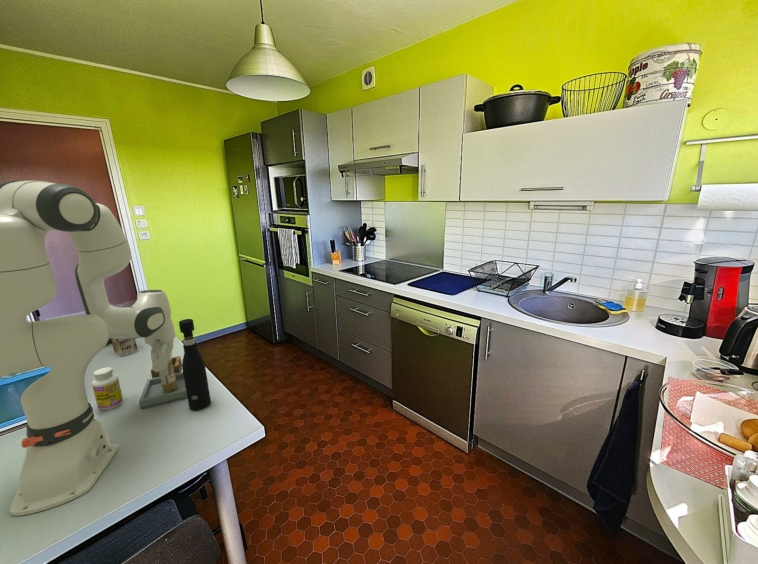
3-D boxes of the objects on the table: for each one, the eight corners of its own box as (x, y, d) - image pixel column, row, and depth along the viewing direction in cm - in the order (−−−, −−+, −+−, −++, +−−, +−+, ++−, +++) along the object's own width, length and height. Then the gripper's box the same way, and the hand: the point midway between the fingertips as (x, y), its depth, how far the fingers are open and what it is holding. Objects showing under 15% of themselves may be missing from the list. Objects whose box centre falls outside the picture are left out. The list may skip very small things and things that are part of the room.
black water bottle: (207, 397, 112) (194, 315, 105) (213, 404, 108) (200, 320, 100) (186, 405, 108) (171, 321, 100) (192, 413, 103) (176, 326, 96)
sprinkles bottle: (177, 390, 115) (171, 355, 112) (162, 394, 112) (155, 359, 109) (177, 384, 119) (170, 351, 115) (162, 388, 116) (155, 354, 113)
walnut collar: (179, 374, 127) (178, 365, 126) (152, 380, 123) (150, 371, 122) (181, 364, 135) (180, 356, 134) (156, 369, 131) (154, 360, 130)
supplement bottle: (95, 413, 104) (85, 378, 101) (101, 402, 110) (93, 368, 107) (120, 407, 107) (112, 373, 104) (125, 397, 113) (118, 364, 109)
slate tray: (192, 396, 112) (191, 389, 112) (140, 409, 106) (139, 401, 105) (195, 376, 125) (194, 369, 125) (148, 386, 119) (147, 379, 118)
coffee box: (138, 351, 147) (131, 318, 143) (122, 357, 142) (114, 322, 138) (130, 346, 152) (122, 314, 148) (113, 352, 147) (105, 319, 143)
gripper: (166, 344, 103) (174, 383, 106) (173, 323, 120) (180, 356, 124) (142, 349, 100) (151, 388, 103) (153, 326, 118) (160, 360, 121)
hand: (167, 371), depth 114 cm, fingers closed on sprinkles bottle, 4 cm apart
